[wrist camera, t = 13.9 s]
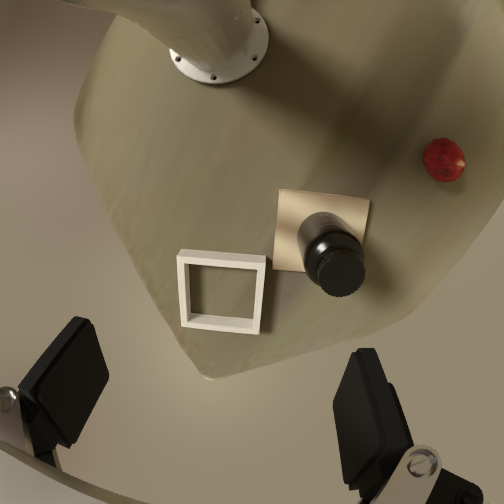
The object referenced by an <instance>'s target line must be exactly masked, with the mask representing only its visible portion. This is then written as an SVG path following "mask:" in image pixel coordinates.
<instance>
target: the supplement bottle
mask: <svg viewBox="0 0 504 504" xmlns="http://www.w3.org/2000/svg"><path fill="white" fill-rule="evenodd" d="M297 241H298V246H299V250H300V254H301V257H302V261H303V265H304V269H305V271H306V274H307V275H308V277H309V278H310V279H311V280H312V281H313V282H314V283H315V284H317V285H318V286H320V287H321V288H322V290H324V291H325V293H328V295H331V296H335V297H343V296H347V295H350V294H351V293H354V292H355V291H356V290H358V288H359V287H360V286H361V284H362V283H363V280H364V279H365V277H364V276H365V268H364V250H363V247H362V245H361V243H360V241H359V240H358V238H357V237H356V236H355V235H354V234H353V232H352V231H351V230H350V229H349V228H348V226H347V225H346V224H345V223H344V222H343V220H342V219H341V218H339V217H338V216H337V215H335V214H333V213H330V212H317V213H314V214H312V215H310V216H308V217H307V218H306V219H305V220H304V221H303V222H302V223H301V225H300V227H299V230H298V234H297Z"/></svg>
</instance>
